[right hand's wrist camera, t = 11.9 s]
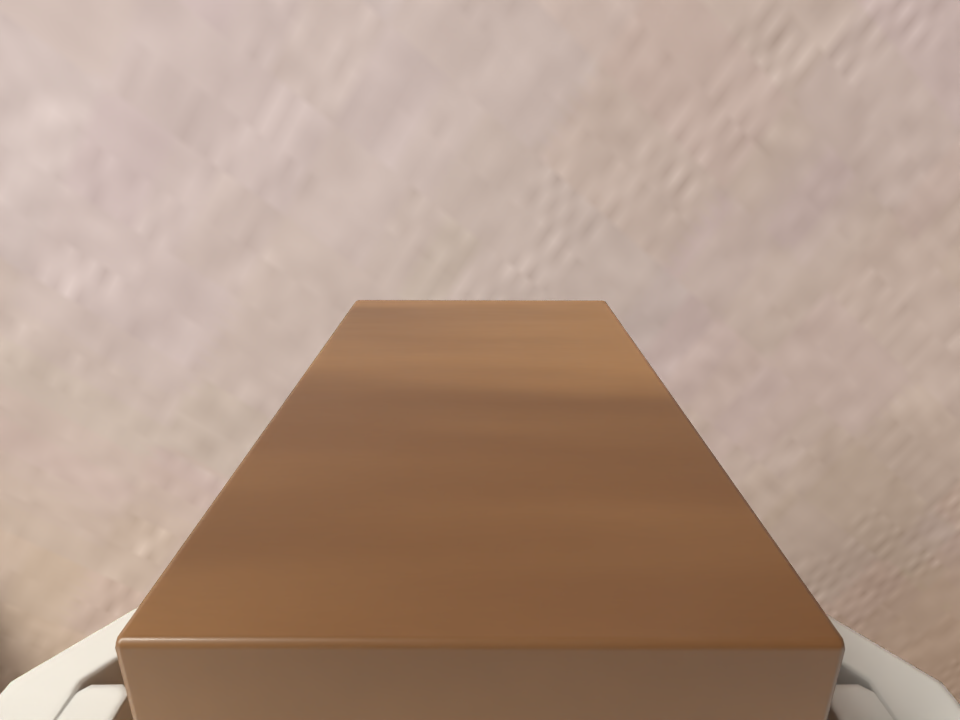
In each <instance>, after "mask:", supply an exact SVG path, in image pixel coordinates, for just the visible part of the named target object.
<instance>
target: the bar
mask: <svg viewBox="0 0 960 720" xmlns="http://www.w3.org/2000/svg"><path fill="white" fill-rule="evenodd" d="M115 650H116V653H117V657H118V661H119V665H120V669H121V673H122V677H123V681H124V685H125V689H126V693H127V696H128V700H129V704H130V708H131V712H132V716H133V720H827V718H828V714H829V710H830V706H831V702H832V699H833V695H834V691H835V687H836V683H837V679H838V675H839V672H840V668H841V664H842V660H843V656H844V652H845V645H844V641H843V638H842V636H841V635H840V634H839V632H838V631H837V629H836V628H835V627H834V625H833V624H832V622H831V621H830V619H829V618H828V617H827V615H826V614H825V612H824V611H823V610H822V608H821V607H820V605H819V604H818V602H817V601H816V600H815V598H814V597H813V595H812V594H811V593H810V591H809V590H808V588H807V587H806V585H805V584H804V583H803V581H802V580H801V578H800V577H799V575H798V574H797V573H796V571H795V570H794V568H793V567H792V566H791V564H790V563H789V561H788V560H787V558H786V557H785V556H784V554H783V553H782V551H781V550H780V549H779V547H778V546H777V544H776V543H775V541H774V540H773V539H772V537H771V536H770V534H769V533H768V532H767V530H766V529H765V527H764V526H763V524H762V523H761V522H760V520H759V519H758V517H757V516H756V515H755V513H754V512H753V510H752V509H751V507H750V506H749V505H748V503H747V502H746V500H745V499H744V497H743V496H742V495H741V493H740V492H739V490H738V489H737V488H736V486H735V485H734V483H733V482H732V480H731V479H730V478H729V476H728V475H727V473H726V472H725V471H724V469H723V468H722V466H721V465H720V463H719V462H718V461H717V459H716V458H715V456H714V455H713V454H712V452H711V451H710V449H709V448H708V446H707V445H706V444H705V442H704V441H703V439H702V438H701V437H700V435H699V434H698V432H697V431H696V429H695V428H694V427H693V425H692V424H691V422H690V421H689V419H688V418H687V417H686V415H685V414H684V412H683V411H682V410H681V408H680V407H679V405H678V404H677V402H676V401H675V400H674V398H673V397H672V395H671V394H670V393H669V391H668V390H667V388H666V387H665V385H664V384H663V383H662V381H661V380H660V378H659V377H658V376H657V374H656V373H655V371H654V370H653V368H652V367H651V366H650V364H649V363H648V361H647V360H646V358H645V357H644V356H643V354H642V353H641V351H640V350H639V349H638V347H637V346H636V344H635V343H634V341H633V340H632V339H631V337H630V336H629V334H628V333H627V332H626V330H625V329H624V327H623V326H622V324H621V323H620V322H619V320H618V319H617V317H616V316H615V315H614V313H613V312H612V310H611V309H610V307H609V306H608V305H607V303H606V302H605V301H436V300H358V301H356V302H355V303H354V305H353V306H352V308H351V309H350V310H349V312H348V313H347V315H346V316H345V317H344V319H343V320H342V322H341V323H340V325H339V326H338V327H337V329H336V330H335V332H334V333H333V334H332V336H331V337H330V339H329V340H328V341H327V343H326V344H325V346H324V347H323V348H322V350H321V351H320V353H319V354H318V355H317V357H316V358H315V360H314V361H313V362H312V364H311V365H310V367H309V368H308V370H307V371H306V372H305V374H304V375H303V377H302V378H301V379H300V381H299V382H298V384H297V385H296V386H295V388H294V389H293V391H292V392H291V393H290V395H289V396H288V398H287V399H286V400H285V402H284V403H283V405H282V406H281V407H280V409H279V410H278V412H277V413H276V415H275V416H274V417H273V419H272V420H271V422H270V423H269V424H268V426H267V427H266V429H265V430H264V431H263V433H262V434H261V436H260V437H259V438H258V440H257V441H256V443H255V444H254V445H253V447H252V448H251V450H250V451H249V452H248V454H247V455H246V457H245V458H244V460H243V461H242V462H241V464H240V465H239V467H238V468H237V469H236V471H235V472H234V474H233V475H232V476H231V478H230V479H229V481H228V482H227V483H226V485H225V486H224V488H223V489H222V490H221V492H220V493H219V495H218V496H217V497H216V499H215V500H214V502H213V503H212V505H211V506H210V507H209V509H208V510H207V512H206V513H205V514H204V516H203V517H202V519H201V520H200V521H199V523H198V524H197V526H196V527H195V528H194V530H193V531H192V533H191V534H190V535H189V537H188V538H187V540H186V541H185V542H184V544H183V545H182V547H181V548H180V550H179V551H178V552H177V554H176V555H175V557H174V558H173V559H172V561H171V562H170V564H169V565H168V566H167V568H166V569H165V571H164V572H163V573H162V575H161V576H160V578H159V579H158V580H157V582H156V583H155V585H154V586H153V587H152V589H151V590H150V592H149V593H148V595H147V596H146V597H145V599H144V600H143V602H142V603H141V604H140V606H139V607H138V609H137V610H136V611H135V613H134V614H133V616H132V617H131V618H130V620H129V621H128V623H127V624H126V625H125V627H124V628H123V630H122V631H121V632H120V634H119V635H118V637H117V640H116V645H115Z"/></svg>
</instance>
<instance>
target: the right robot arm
mask: <svg viewBox="0 0 960 720" xmlns="http://www.w3.org/2000/svg"><path fill="white" fill-rule="evenodd" d="M137 609H138V608H136V609H134V610H132V611H131V612H129V613H127V614H126V615H124V616H122V617H121V618H119V619H117V620H115V621H114V622H112V623H110V624H109V625H107V626H105V627H103V628H102V629H100V630H98V631H97V632H95V633H93V634H92V635H90V636H88V637H86V638H85V639H83V640H81V641H80V642H78V643H76V644H74V645H73V646H71V647H69V648H68V649H66V650H64V651H63V652H61V653H59V654H57V655H56V656H54V657H52V658H51V659H49V660H47V661H45V662H44V663H42V664H40V665H39V666H37V667H35V668H34V669H32V670H30V671H28V672H27V673H25V674H23V675H22V676H20V677H18V678H16V679H15V680H13V681H11V682H10V683H9V685H8V686H7V687H6V688H5V689H4V691H3V692H2V693H1V694H0V720H133V716H132V712H131V708H130V704H129V700H128V696H127V693H126V689H125V685H124V681H123V677H122V673H121V669H120V665H119V661H118V657H117V653H116V650H115V645H116V640H117V637H118V635H119V634H120V632H121V631H122V630H123V628H124V627H125V625H126V624H127V623H128V621H129V620H130V618H131V617H132V616H133V614H134V613H135V611H136V610H137ZM826 615H827V614H826ZM827 617H828V618H829V619H830V621H831V622H832V624H833V625H834V627H835V628H836V629H837V631H838V632H839V634H840V635H841V636H842V638H843V641H844V645H845V652H844V656H843V660H842V664H841V668H840V672H839V675H838V679H837V683H836V687H835V691H834V695H833V699H832V702H831V706H830V710H829V714H828V718H827V720H960V704H959V703H958V702H957V700H956V699H955V698H954V697H953V696H952V694H951V693H950V692H949V691H948V690H947V688H946V687H945V686H944V685H943V683H941V682H940V681H938V680H936V679H935V678H933V677H931V676H930V675H928V674H926V673H925V672H923V671H921V670H920V669H918V668H916V667H915V666H913V665H911V664H910V663H908V662H906V661H904V660H903V659H901V658H899V657H898V656H896V655H894V654H893V653H891V652H889V651H888V650H886V649H884V648H883V647H881V646H879V645H878V644H876V643H874V642H872V641H871V640H869V639H867V638H866V637H864V636H862V635H861V634H859V633H857V632H856V631H854V630H852V629H851V628H849V627H847V626H846V625H844V624H842V623H840V622H839V621H837V620H835V619H834V618H832V617H830V616H829V615H827Z"/></svg>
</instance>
